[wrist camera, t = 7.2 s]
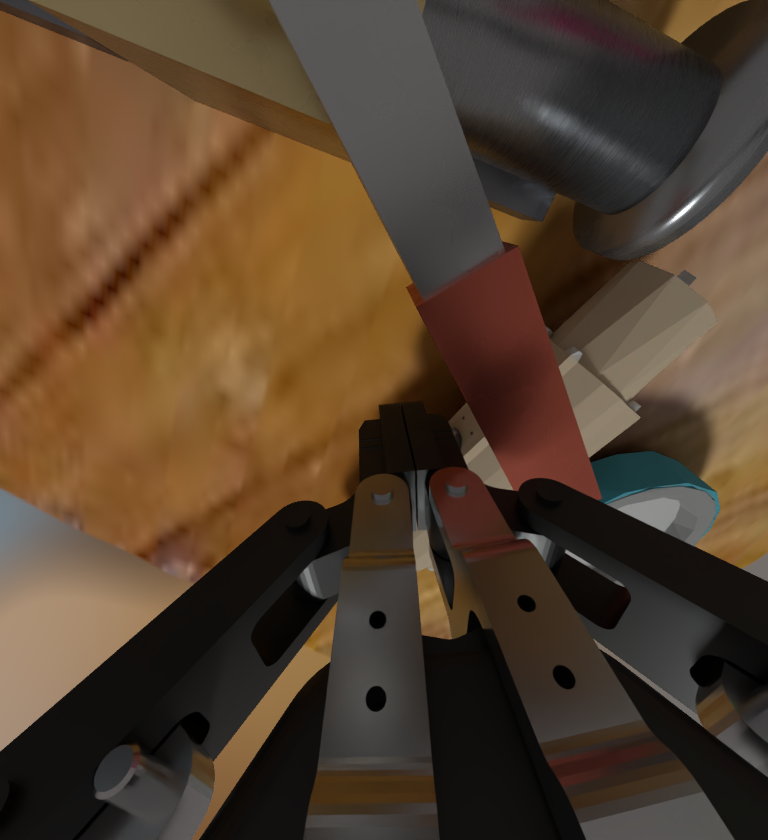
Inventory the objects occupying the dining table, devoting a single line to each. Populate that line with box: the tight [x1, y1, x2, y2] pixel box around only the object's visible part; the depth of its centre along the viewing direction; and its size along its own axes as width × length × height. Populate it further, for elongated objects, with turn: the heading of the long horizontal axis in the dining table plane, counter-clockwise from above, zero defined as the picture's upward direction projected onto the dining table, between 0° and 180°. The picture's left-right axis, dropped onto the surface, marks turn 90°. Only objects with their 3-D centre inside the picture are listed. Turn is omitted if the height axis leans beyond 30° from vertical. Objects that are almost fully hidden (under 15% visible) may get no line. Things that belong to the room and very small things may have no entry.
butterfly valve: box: [413, 261, 720, 586], centre depth 26 cm, size 27×7×30 cm
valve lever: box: [267, 0, 602, 500], centre depth 7 cm, size 18×4×2 cm, turn 31°
